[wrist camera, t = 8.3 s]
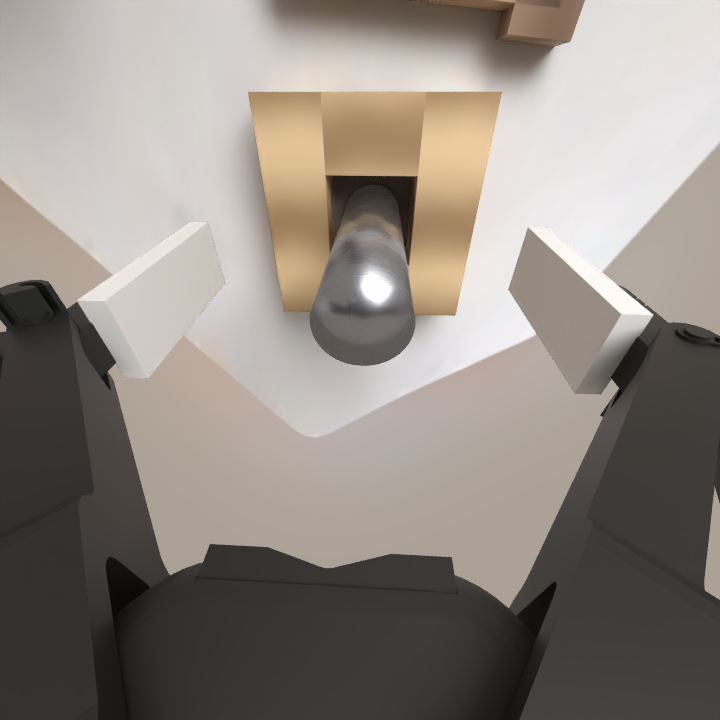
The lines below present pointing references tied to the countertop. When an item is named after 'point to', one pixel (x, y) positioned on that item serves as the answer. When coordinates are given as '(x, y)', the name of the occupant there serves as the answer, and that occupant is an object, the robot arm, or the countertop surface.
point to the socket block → (374, 158)
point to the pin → (365, 284)
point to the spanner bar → (529, 18)
